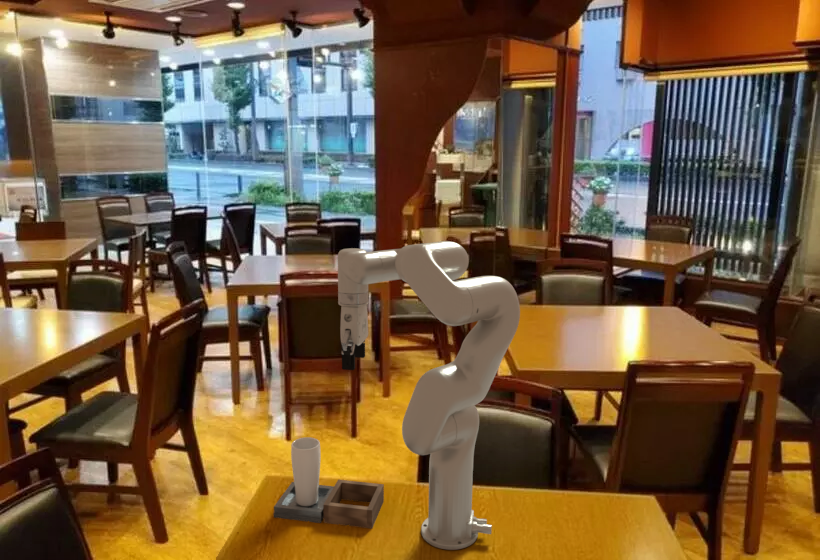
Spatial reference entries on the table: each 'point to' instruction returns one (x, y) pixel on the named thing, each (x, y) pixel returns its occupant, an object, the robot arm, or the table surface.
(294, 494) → the metal cradle
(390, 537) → the table surface
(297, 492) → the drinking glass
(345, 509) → the frame
